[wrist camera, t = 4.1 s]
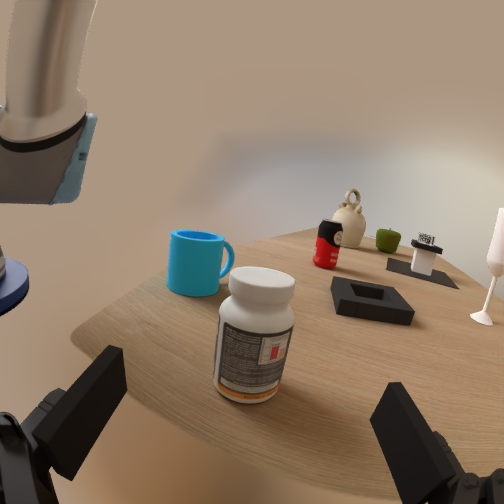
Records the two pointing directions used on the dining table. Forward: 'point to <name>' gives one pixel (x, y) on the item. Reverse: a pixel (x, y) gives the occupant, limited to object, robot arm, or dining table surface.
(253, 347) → the pill bottle
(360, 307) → the dock pad
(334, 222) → the beverage can
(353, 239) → the jug
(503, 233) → the champagne flute
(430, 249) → the black-topped pedestal
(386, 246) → the apple
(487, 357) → the dining table surface
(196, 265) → the mug
